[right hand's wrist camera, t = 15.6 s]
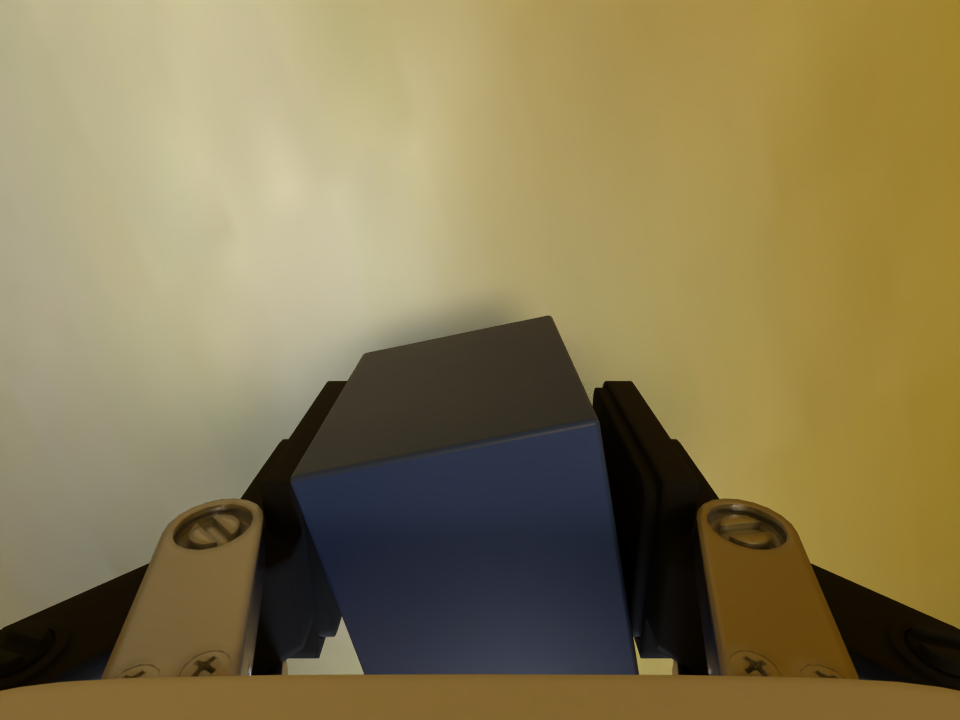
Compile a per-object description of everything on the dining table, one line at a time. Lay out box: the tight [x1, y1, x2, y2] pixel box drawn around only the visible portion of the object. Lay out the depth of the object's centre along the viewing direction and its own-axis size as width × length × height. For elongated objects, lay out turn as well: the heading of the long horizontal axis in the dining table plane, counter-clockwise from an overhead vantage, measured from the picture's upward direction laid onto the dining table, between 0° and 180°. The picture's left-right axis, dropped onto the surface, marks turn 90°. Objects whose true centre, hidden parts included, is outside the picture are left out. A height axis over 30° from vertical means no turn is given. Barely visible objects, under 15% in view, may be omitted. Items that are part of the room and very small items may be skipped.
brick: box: [291, 316, 639, 675], centre depth 10 cm, size 5×4×5 cm
